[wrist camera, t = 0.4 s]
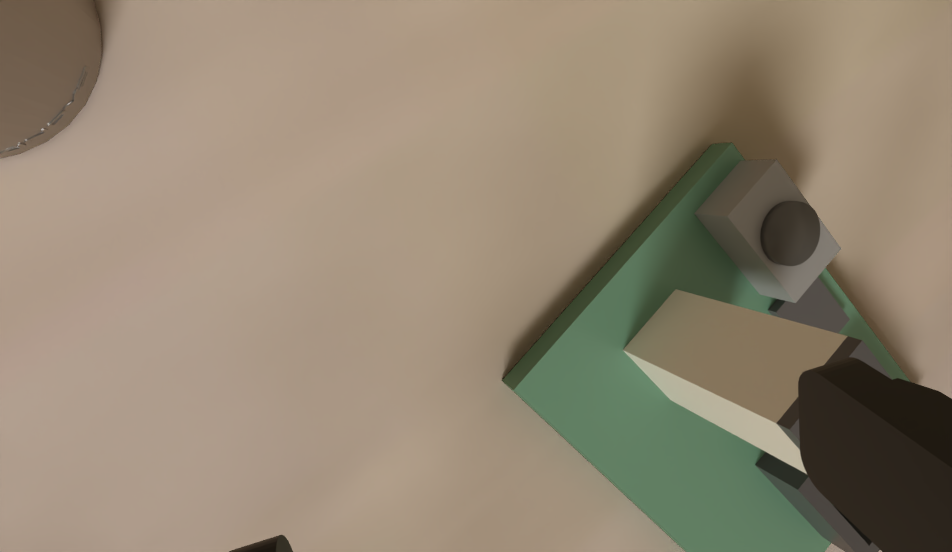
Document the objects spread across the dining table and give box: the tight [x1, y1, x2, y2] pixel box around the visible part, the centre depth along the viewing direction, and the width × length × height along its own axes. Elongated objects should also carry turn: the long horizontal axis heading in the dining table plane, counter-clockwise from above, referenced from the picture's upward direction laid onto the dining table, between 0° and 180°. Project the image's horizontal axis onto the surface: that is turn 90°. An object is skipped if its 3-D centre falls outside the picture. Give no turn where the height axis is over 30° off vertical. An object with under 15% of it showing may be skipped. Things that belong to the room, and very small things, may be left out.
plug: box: [623, 289, 892, 474], centre depth 28 cm, size 4×4×11 cm
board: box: [502, 143, 910, 552], centre depth 34 cm, size 22×16×4 cm
